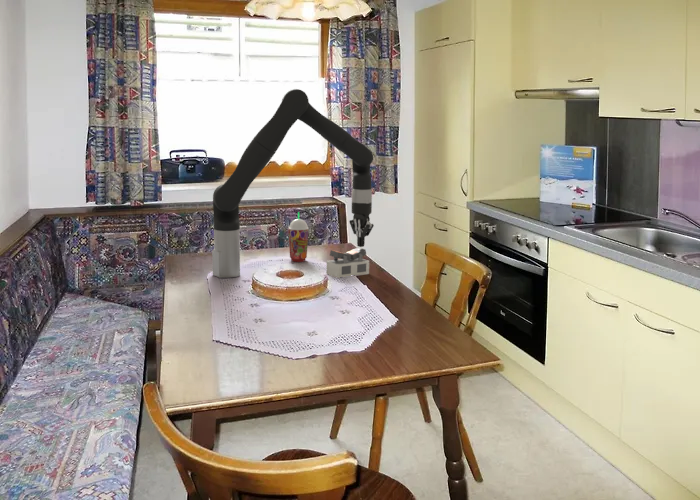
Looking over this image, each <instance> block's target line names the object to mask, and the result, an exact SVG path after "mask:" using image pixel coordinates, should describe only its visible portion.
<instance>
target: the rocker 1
mask: <svg viewBox="0 0 700 500" xmlns="http://www.w3.org/2000/svg"><path fill="white" fill-rule="evenodd" d="M329 256H331V257H332V258H334V257H336V258H338V259H343V257H344V256H347V260H350V258H351V255H349V254H347V253H346V252H343V251H342V252H340V251H338V250H334V249H332V250H330V253H329Z"/></svg>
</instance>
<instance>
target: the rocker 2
mask: <svg viewBox="0 0 700 500" xmlns="http://www.w3.org/2000/svg"><path fill="white" fill-rule="evenodd" d="M345 253H347V254H349V255H351V258H350V259H352V260H355V259H357V258H358V257H359V255H361V254H362V255H363V256H364V257H365V256H366V255H367V251H366V249H365V248H362V247H359V246H357V247H355V248H353V249H351V250H349V251H346V252H345ZM363 256H362V257H363Z"/></svg>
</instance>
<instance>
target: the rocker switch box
mask: <svg viewBox="0 0 700 500" xmlns="http://www.w3.org/2000/svg"><path fill="white" fill-rule="evenodd" d="M325 268H326V273H327V274H326V273H325V274H326V275H328V274H329V275H328V276H331V275H332V276H331V277H334V278H336V277H337V279H341V278H340V277H343V278H347V277H346V276H351V275H355V276H354V277H357V276H363V275H364V276H365V275H370V260H368V259H365V258H363V255H362V254H361V255H359V257H358V258H357V259H355V260H352V259H350V260H347V256H344V257H343V259H340V258H336V257H333V259H332V260H326V267H325ZM351 277H352V276H351Z"/></svg>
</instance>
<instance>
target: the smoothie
mask: <svg viewBox="0 0 700 500" xmlns="http://www.w3.org/2000/svg"><path fill="white" fill-rule="evenodd" d="M287 228H288V229H287V230H288V245H289V246H288V247H289V259H291V261H292V262H293V263H294V262H295V263H297V262H298V263H304V262H306V259H307V258H308V257H307V256H308V244H309V243H308V241H309V229H310V228H309V225H308V224H307V222H306V220H304V219H302V218H300V212H299V211H298V212H297V218H296V219H294V220H292V221H291V222H290V224H289V226H288V227H287Z"/></svg>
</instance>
